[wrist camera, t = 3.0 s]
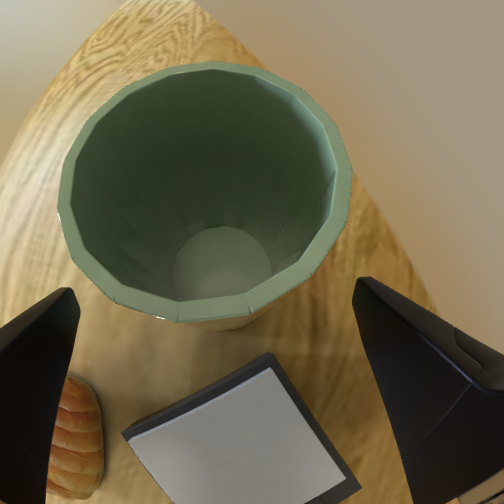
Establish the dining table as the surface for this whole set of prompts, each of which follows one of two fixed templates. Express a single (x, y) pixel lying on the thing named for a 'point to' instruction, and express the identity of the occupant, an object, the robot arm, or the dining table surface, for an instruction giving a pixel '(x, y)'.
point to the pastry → (76, 444)
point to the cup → (205, 193)
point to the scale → (242, 444)
